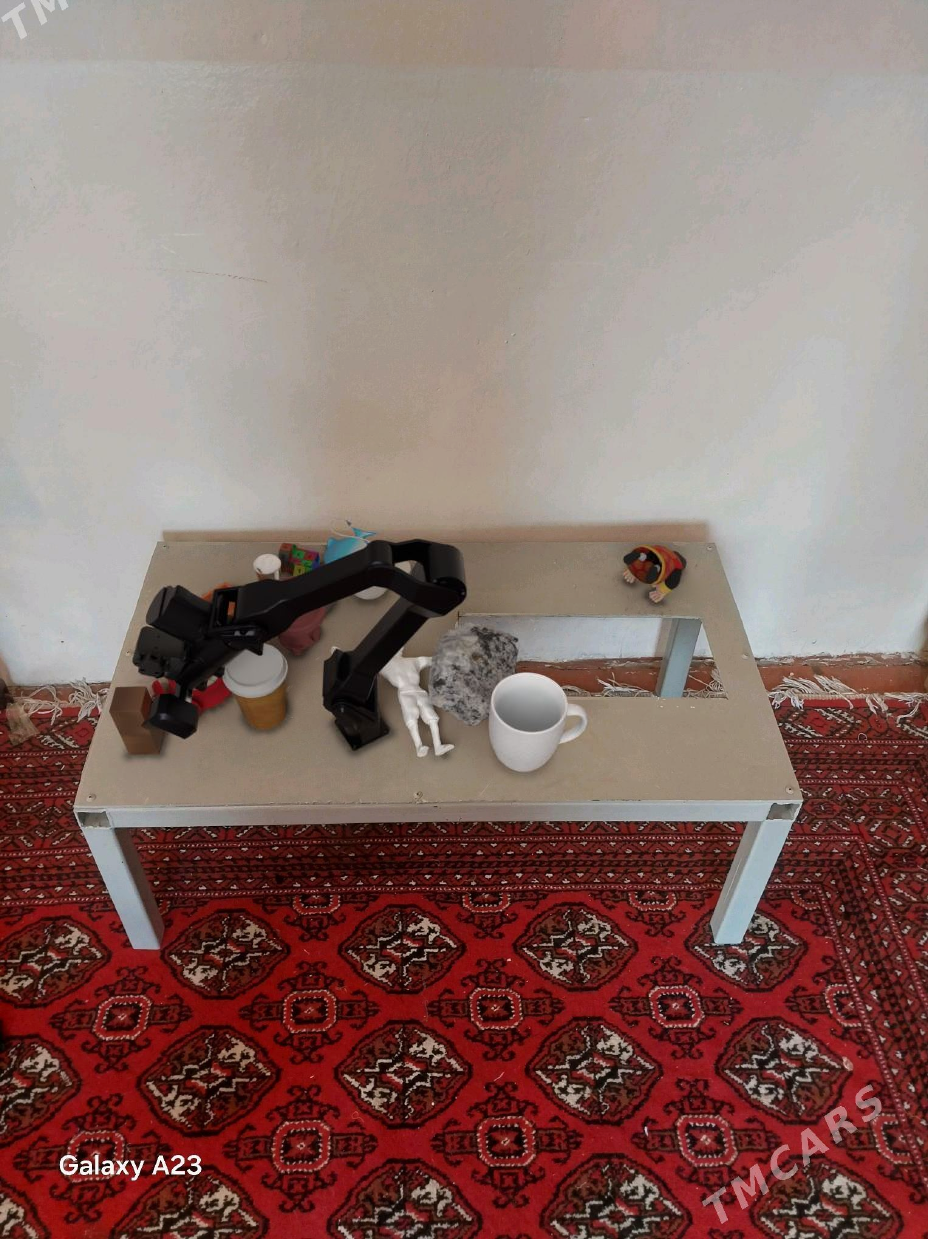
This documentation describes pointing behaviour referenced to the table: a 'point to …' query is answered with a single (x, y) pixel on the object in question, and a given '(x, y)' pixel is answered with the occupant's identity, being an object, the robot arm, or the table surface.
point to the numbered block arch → (297, 559)
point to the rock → (470, 669)
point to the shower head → (403, 565)
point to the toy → (345, 545)
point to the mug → (530, 720)
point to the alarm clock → (199, 693)
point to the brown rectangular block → (135, 720)
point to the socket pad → (209, 595)
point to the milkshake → (267, 567)
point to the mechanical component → (303, 630)
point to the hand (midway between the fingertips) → (149, 701)
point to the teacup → (371, 593)
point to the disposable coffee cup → (259, 686)
